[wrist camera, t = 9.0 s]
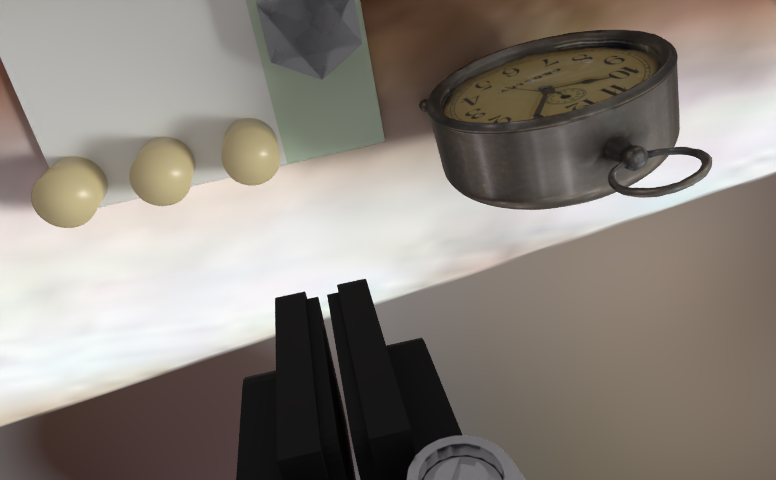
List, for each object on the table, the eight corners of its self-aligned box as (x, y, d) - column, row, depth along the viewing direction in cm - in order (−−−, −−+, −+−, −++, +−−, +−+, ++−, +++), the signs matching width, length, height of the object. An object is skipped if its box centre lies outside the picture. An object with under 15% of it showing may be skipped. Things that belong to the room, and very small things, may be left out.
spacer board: (331, -153, 27) (340, -167, 25) (383, 139, 34) (395, 154, 31) (-69, -87, 25) (-108, -94, 23) (64, 212, 31) (46, 235, 29)
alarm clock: (579, 15, 33) (838, 49, 19) (592, 107, 36) (831, 200, 21) (395, 82, 32) (516, 171, 18) (421, 171, 35) (547, 313, 20)
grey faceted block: (339, -43, 29) (346, -45, 27) (358, 63, 31) (366, 70, 29) (248, -26, 28) (249, -26, 26) (275, 81, 31) (277, 89, 28)
